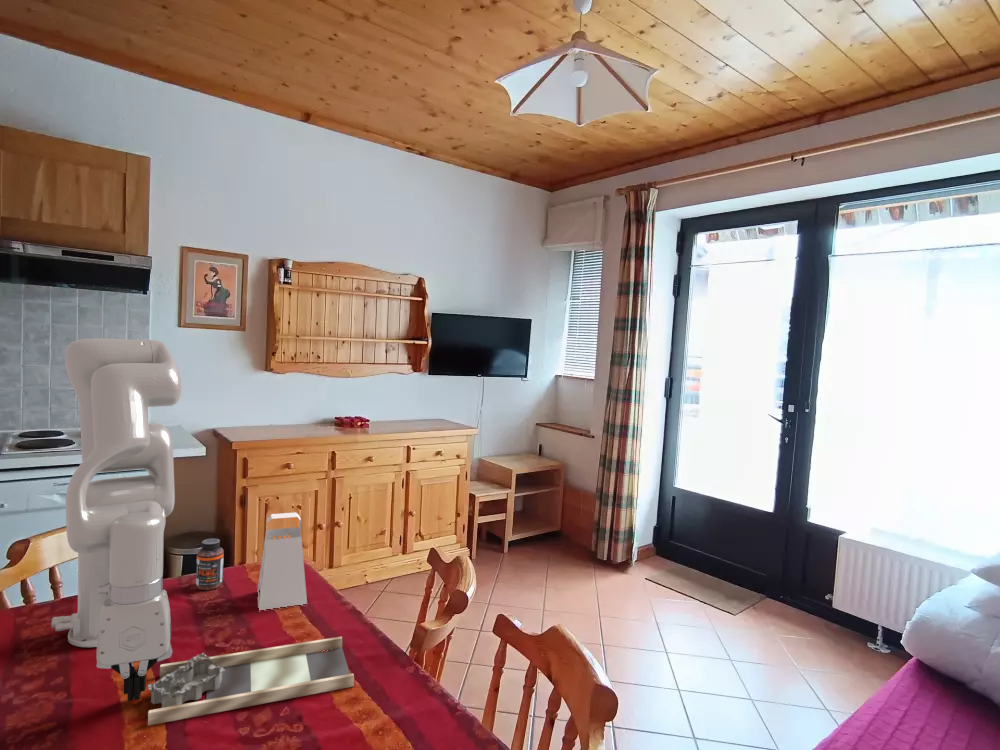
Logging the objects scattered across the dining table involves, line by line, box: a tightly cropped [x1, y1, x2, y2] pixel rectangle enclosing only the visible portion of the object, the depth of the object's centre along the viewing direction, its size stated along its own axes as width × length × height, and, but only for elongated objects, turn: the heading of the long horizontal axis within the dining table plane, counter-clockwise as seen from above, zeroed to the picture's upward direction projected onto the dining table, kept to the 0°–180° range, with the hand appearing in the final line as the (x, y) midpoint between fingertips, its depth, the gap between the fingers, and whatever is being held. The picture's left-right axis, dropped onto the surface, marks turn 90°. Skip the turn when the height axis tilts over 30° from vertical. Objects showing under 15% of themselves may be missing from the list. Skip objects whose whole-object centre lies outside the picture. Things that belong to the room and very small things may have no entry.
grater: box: [256, 512, 308, 612], centre depth 137 cm, size 10×10×20 cm
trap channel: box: [147, 636, 355, 726], centre depth 105 cm, size 32×15×2 cm, turn 114°
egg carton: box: [146, 651, 226, 708], centre depth 100 cm, size 11×8×4 cm
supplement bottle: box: [195, 538, 225, 591], centre depth 142 cm, size 6×6×11 cm
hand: (134, 695), depth 97 cm, fingers closed
